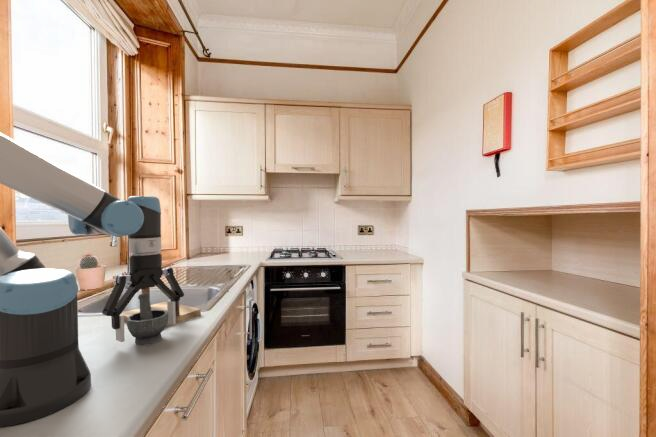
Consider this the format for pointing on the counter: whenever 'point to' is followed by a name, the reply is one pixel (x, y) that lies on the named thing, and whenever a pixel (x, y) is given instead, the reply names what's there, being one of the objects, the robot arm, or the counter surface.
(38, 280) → the robot arm
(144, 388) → the counter surface
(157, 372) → the counter surface
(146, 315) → the mortar and pestle
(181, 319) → the peg board
